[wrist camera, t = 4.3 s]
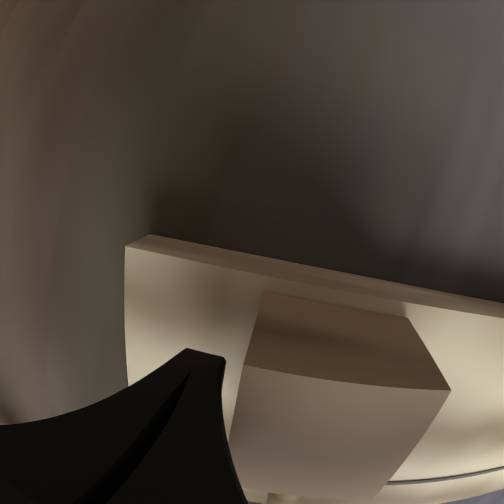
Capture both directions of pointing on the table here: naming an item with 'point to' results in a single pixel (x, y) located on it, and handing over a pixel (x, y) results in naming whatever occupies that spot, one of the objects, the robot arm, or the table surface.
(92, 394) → the table surface
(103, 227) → the table surface
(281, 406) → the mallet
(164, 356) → the board
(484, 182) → the table surface
